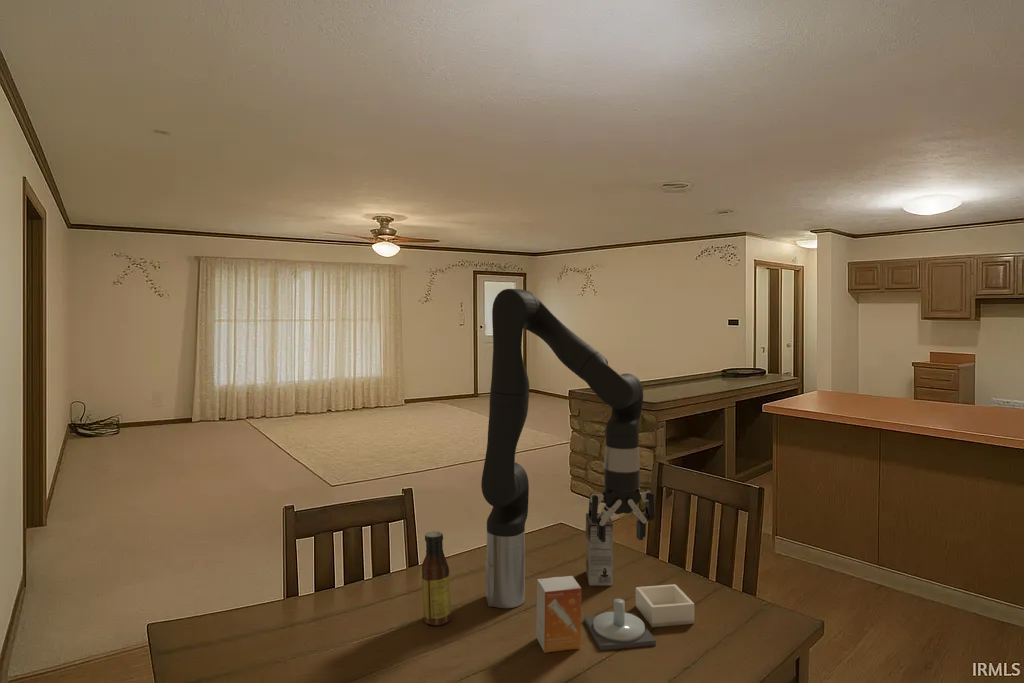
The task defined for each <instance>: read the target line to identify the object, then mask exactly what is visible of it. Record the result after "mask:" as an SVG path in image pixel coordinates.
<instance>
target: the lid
mask: <svg viewBox="0 0 1024 683" xmlns="http://www.w3.org/2000/svg"><path fill="white" fill-rule="evenodd" d="M625 604H626V601H625V600H624V599H622V598H615V599H614V600H613V607H612V608H613V609H612V610H613V611H605V612H601V613H599V614H598V615H595V616H596V617H595V619H594V622H593V627H594V630H595V632H596V633H597V634H598V635H600V636H601V637H603V638H605V639H608V640H612V641H617V642H630V641H634V640H637V639H639V638H641V637H642V636H643V635H644V633H645V627H646V626H645V623H644V621H643V620H642V619H641V618H640V617H639V616H638V617H639V618H638V617H636V616H634V615H632V614H629V613H630V612H625V610H626V608H625V606H626V605H625Z"/></svg>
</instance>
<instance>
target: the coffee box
mask: <svg viewBox="0 0 1024 683" xmlns="http://www.w3.org/2000/svg"><path fill="white" fill-rule="evenodd" d="M588 513H589V512H587V513H585V572H586V573H585V574H586V576H587V581H588V582H587V583H588V585H589V586H613V584H614V583H613V581H614V579H613V576H614V575H613V572H614V571H613V570H614V569H613V566H614V565H613V563H614V562H613V561H614V560H613V559H614V556H613V554H614V524H613V520H612V517H611V518H609V519H608V520H607V522H606V523H605V526H606V535H605V542H601V541H600V540H599V539H598V537H597V524H596V523H592V522H591V521H590V519H589V518H588ZM600 513H601V512H597V517H598V515H599V514H600Z"/></svg>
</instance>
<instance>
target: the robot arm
mask: <svg viewBox="0 0 1024 683" xmlns="http://www.w3.org/2000/svg"><path fill="white" fill-rule="evenodd" d="M491 312H492V313H491V316H492V318H491V319H492V320H491V321H492V322H491V323H492V345H493V346H492V363H491V364H492V365H491V366H492V367H491V382H490V388H489V389H490V391H489V411H488V412H489V413H488V415H489V416H488V425H487V426H488V427H487V443H486V451H485V452H486V453H485V457H484V463H483V469H482V474H481V475H482V476H481V482H480V484H481V486H480V487H481V492H482V495H483V498H484V500H485V501H486V502H487V503H488V504H489V505H491V506H492V509H491V511H490V513H489V515H488V517H487V520H486V557H485V597H486V602H487V605H488V607H495V608H498V609H513V608H516V607H519V606H521V605H523V603H525V600H526V586H525V585H526V580H525V579H526V566H525V565H526V557H525V556H526V546H525V545H526V544H525V542H526V540H525V537H526V534H525V532H526V521H527V518H528V514H529V494H530V493H529V492H530V490H529V489H530V488H529V485H530V484H529V483H530V482H529V477H528V475H527V474H528V473H527V471H526V470H525V468H524V467H523V466H522V465H521V464H519V463H517V462H515V461H516V451H517V447H518V443H519V440H520V438H521V434H522V431H523V429H524V426H525V423H526V420H527V417H528V412H529V402H530V401H529V399H530V380H529V376H528V372H527V369H526V366H525V363H524V358H523V353H522V352H523V351H522V342H523V333H524V332H523V331H524V330H526V331H529V332H530V333H532V334H534V335H536V336H537V337H539V338H540V339H541V340H542V341H543V342H545V344H547V346H548V347H549V348H550V349H551V351H552V352H553V353H554V354H555V356H556V357H557V358H558V360H559V361H560V362H561V363H562V364H563V365H564V366H565V367H566V368H567V369H568V370H570V371H571V372H572V373H573V374H575V375H576V376H577V377H578V378H580V379H581V380H582V381H584V382H585V383H586V384H587V386H589V388H590V389H591V390H592V392H594V393H595V395H596V396H597V397H598V398H599V399H600V400H601V401H602V402H603V403H605V404H606V405H607V406H609V407H611V408H612V409H611V416H610V418H609V419H608V420H607V422H606V425H605V426H606V427H605V449H604V460H603V465H604V466H603V467H604V469H603V470H604V471H603V472H604V473H603V474H604V476H603V479H604V480H603V481H604V482H603V489H604V490H603V492H602V494H601V493H599V494H598V493H595V492H591V493H589V498H588V499H589V500H588V501H589V502H588V512H587V513H588V518H589V519H590V521H591V522H592V523H596V524H597V537H598V539H599V540H600V541H601V542H605V535H606V526H605V523H606V522H607V520H608V519H609V518H611V519H612V516H613V515H614V514H615V515H622V514H627V515H628V514H631V513H633V514H634V516H635V517H636V518H637V520H636V538H637V540H639V541H643V540H644V538H646V532H647V529H646V526H647V523H648V521H654V520H655V517H656V515H655V497H654V494H653V493H652V492H651V491H650V490H648V489H646V490H644V491H643V492H642V491H640V479H641V478H640V474H641V473H640V471H641V470H640V468H641V467H640V462H641V457H640V448H639V446H640V445H639V443H640V440H639V438H640V436H639V435H640V431H639V430H640V429H639V424H640V419H641V414H642V408H643V403H644V388H643V383H642V381H641V380H640V379H639V378H638V377H637V376H636V375H634V374H631V373H622V374H620V373H618V372H617V371H616V370H615V369H613V368H612V366H610V365H609V361H608V359H607V358H606V357H605V356H604V355H603V354H602V353H600V352H599V350H597V349H595V348H594V347H593V346H591V344H589V343H588V342H586V341H585V340H584V339H582V338H581V337H579V335H577V334H576V333H575V332H573V330H571V329H569V328H568V327H567V326H566V325H565V324H564V323H563V322H561V320H560V319H559V318H557V317H556V316H555V315H554V314H553V313H552V312H551V310H550V309H549V308H548V307H547V306H546V305H545V304H544V303H543V302H542V300H540V299H539V297H537V296H536V294H534V293H533V292H532V291H530V290H525V289H519V288H518V289H517V288H505V289H503V290H501V291H499V293H497V294H496V296H495V298H494V301H493V303H492V310H491ZM641 499H642V501H643V502H644V513H643V512H642V511H641V510H640V508H639V507H638V504H639V502H640V501H641ZM602 501H603V502H604V503H605V504H604V506H603V507H602V508H601V509H600V512H598V510H599V505H600V504H601V502H602ZM597 513H600V514H599V515H598V517H597Z"/></svg>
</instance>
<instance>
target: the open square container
mask: <svg viewBox="0 0 1024 683" xmlns="http://www.w3.org/2000/svg"><path fill="white" fill-rule="evenodd" d="M635 608H637V610H638V611H639V612H640V614H641V615H642V616H643V618H644V619H645V620H646V621H647V623H648V624H649V625H650V627H651V628H659V627H660V628H662V627H671V626H680V625H681V626H682V625H683V626H684V625H694V624H695V603H694V602H693V601H692V600H691V599H690V597H689V596H688V595H686V593H685V592H684V591H683V590H682V589H681V588H680V587H679V586H678V585H677V584H662V585H661V584H660V585H648V586H637V587H635Z"/></svg>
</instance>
